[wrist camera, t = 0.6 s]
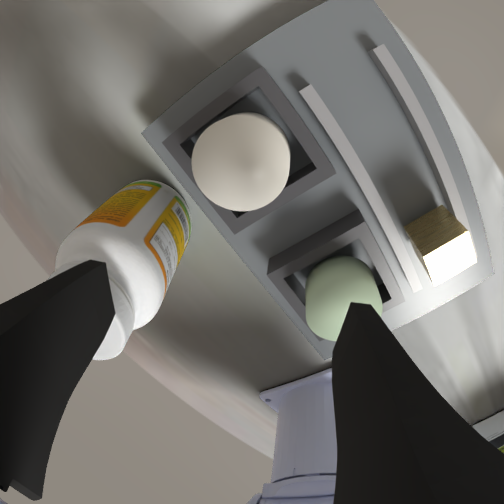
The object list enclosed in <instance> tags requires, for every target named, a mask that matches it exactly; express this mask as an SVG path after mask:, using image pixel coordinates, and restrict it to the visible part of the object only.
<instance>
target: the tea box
mask: <svg viewBox="0 0 504 504" xmlns="http://www.w3.org/2000/svg"><path fill="white" fill-rule="evenodd" d="M472 427H473V428H474V429H475V430H476V431H477V432H478V433H479V434H480V435H482V436H483V437H484V438H485V439H486V440H487V441H489V442H490V443H491V444H492V445H494V446H495V447H496V448H497V449H499V450H500V451H501V452H503V453H504V410H503V411H501V412H499V413H497V414H496V415H494V416H492V417H490V418H488V419H486V420H484V421H482V422H479V423H477V424H475V425H473V426H472Z"/></svg>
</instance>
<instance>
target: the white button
mask: <svg viewBox="0 0 504 504" xmlns="http://www.w3.org/2000/svg"><path fill="white" fill-rule="evenodd" d="M289 170H290V145H289V142H288V139H287V136H286V134H285V133H284V131H283V130H282V128H281V127H280V126H279V125H278V124H277V123H276V122H275V121H273V120H272V119H270V118H268V117H267V116H264V115H262V114H258V113H253V112H242V113H237V114H234V115H231V116H229V117H226V118H224V119H222V120H219V121H217V122H215V123H214V124H212V125H211V126H209V127H208V128H207V129H206V130H205V131H204V132H203V133H202V134H201V135H200V137H199V138H198V140H197V142H196V144H195V146H194V149H193V153H192V171H193V176H194V178H195V181H196V183H197V185H198V187H199V188H200V190H201V191H202V192H203V194H204V195H205V196H206V197H207V198H208V199H210V200H211V201H212V202H214V203H215V204H217V205H219V206H221V207H223V208H226V209H229V210H233V211H252V210H256V209H259V208H261V207H264V206H266V205H267V204H269V203H270V202H272V201H273V200H274V199H275V198H276V197H278V195H279V194H280V193H281V192H282V190H283V188H284V187H285V185H286V182H287V180H288V176H289Z"/></svg>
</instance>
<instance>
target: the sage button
mask: <svg viewBox="0 0 504 504" xmlns="http://www.w3.org/2000/svg"><path fill="white" fill-rule="evenodd" d="M305 299H306V321H307V324H308V326H309V327H310V329H311V330H312V331H313V332H314V333H315V334H316V335H318V336H319V337H321V338H324V339H326V340H330V341H337V338H338V336H339V333H340V330H341V328H342V325H343V322H344V320H345V317H346V314H347V311H348V308H349V306H350V303H351V302H356V303H364V304H371V305H372V307H373V308H374V309H375V310H376V312H377V313H378V314H379V316H380V317H381V315H382V310H383V305H382V300H381V297H380V294H379V291H378V288H377V285H376V282H375V279H374V276H373V273H372V271H371V269H370V268H369V267H368V265H367V264H366V263H364V262H363V261H361V260H360V259H358V258H355V257H352V256H334V257H330V258H327V259H325V260H323V261H321V262H320V263H318V264H317V265H316V266H315V267H314V268H313V269H312V270H311V271H310V273H309V275H308V277H307V279H306V284H305Z"/></svg>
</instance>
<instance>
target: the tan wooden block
mask: <svg viewBox="0 0 504 504" xmlns="http://www.w3.org/2000/svg"><path fill="white" fill-rule="evenodd" d="M404 229H405V231H406V233H407V236H408V238H409V240H410V242H411V245H412V247H413V249H414V252H415V254H416V255H417V257H418V259H419V260H420V262H421V264H422V265H423V267H424V269H425V271H426V272H427V274H428V276H429V278H430V279H431V281H432V283H433V285H434V286H436V285H438V284H440V283H442V282H443V281H445V280H447V279H449V278H450V277H452V276H454V275H456V274H457V273H459V272H461V271H462V270H464V269H466V268H467V267H469V266H471V265H472V264H474V263H476V262H477V261H476V257H475V253H474V249H473V245H472V242H471V238H470V234H469V231H468V230H467V229H466V228H465V227H464V226H463V225H462V224H461V223H460V222H459V221H458V220H457V219H456V218H455V217H454V216H453V215H452V214H451V213H450V212H449V211H448V210H447V209H446V208H445V207H444V206H443V205H440V206H438V207H437V208H435V209H433V210H432V211H430V212H428V213H426V214H425V215H423V216H421V217H419V218H418V219H416V220H414V221H413V222H411V223H409V224H407V225H405V226H404Z"/></svg>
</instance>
